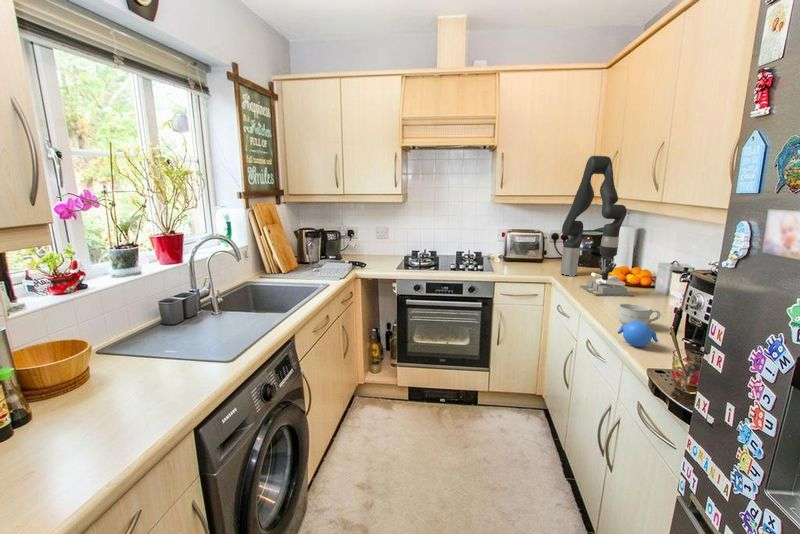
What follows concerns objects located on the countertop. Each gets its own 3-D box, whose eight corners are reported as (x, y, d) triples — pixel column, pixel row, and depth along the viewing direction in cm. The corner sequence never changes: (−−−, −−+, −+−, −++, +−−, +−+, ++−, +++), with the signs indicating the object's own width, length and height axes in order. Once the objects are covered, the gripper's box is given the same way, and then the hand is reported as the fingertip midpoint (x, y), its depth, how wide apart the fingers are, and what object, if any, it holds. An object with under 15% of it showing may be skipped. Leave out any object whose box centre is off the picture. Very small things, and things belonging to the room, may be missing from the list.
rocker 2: (595, 282, 202) (595, 279, 202) (614, 278, 202) (614, 274, 201) (599, 284, 199) (599, 281, 198) (618, 279, 198) (618, 276, 198)
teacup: (615, 326, 150) (617, 307, 148) (617, 319, 159) (620, 300, 157) (658, 335, 142) (661, 314, 141) (658, 326, 151) (661, 306, 150)
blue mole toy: (658, 343, 135) (662, 320, 133) (655, 354, 126) (659, 329, 124) (619, 334, 142) (622, 312, 140) (613, 344, 133) (617, 321, 131)
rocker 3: (601, 281, 196) (602, 278, 196) (620, 284, 197) (621, 280, 196) (605, 283, 193) (605, 280, 192) (624, 285, 193) (625, 282, 193)
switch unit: (579, 287, 209) (580, 277, 208) (614, 287, 210) (616, 278, 209) (595, 295, 193) (597, 285, 192) (633, 296, 193) (635, 286, 192)
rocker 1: (590, 275, 207) (592, 272, 207) (608, 280, 208) (609, 277, 207) (594, 276, 203) (595, 273, 203) (611, 282, 204) (613, 279, 204)
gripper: (594, 243, 197) (590, 276, 201) (609, 247, 184) (604, 282, 188) (609, 243, 197) (604, 277, 201) (624, 247, 184) (619, 283, 188)
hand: (604, 279), depth 194 cm, fingers closed
